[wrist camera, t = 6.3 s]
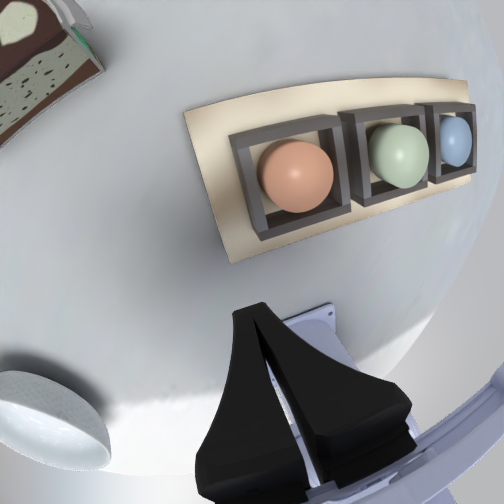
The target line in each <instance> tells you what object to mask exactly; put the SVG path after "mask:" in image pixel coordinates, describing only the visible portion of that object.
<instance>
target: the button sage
mask: <svg viewBox="0 0 504 504" xmlns="http://www.w3.org/2000/svg"><path fill="white" fill-rule="evenodd" d="M367 149H368V159H369V166H370V168H371V170H372V172H373V173H374V174H375V175H376V176H377V177H378V178H380V179H382V180H384V181H386V182H388V183H390V184H393V185H395V186H397V187H399V188H410V187H412V186H414V185H416V184H417V183H418V182H419V181H420V180H421V179H422V177H423V176H424V174H425V172H426V169H427V166H428V161H429V148H428V144H427V141H426V139H425V137H424V135H423V134H422V133H421V131H419V130H418V129H417V128H415V127H412V126H407V125H402V124H396V123H385V124H382V125H381V126H379V127H378V128H377V129H376V130H375V131H374V132H373V134H372V136H371V137H370V140H369V143H368V148H367Z"/></svg>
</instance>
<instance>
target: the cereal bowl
mask: <svg viewBox="0 0 504 504" xmlns="http://www.w3.org/2000/svg"><path fill="white" fill-rule="evenodd" d="M0 441H1V442H2V443H3V444H5V445H6V446H8V447H9V448H11V449H13V450H15V451H16V452H18V453H20V454H22V455H24V456H26V457H28V458H30V459H33V460H36V461H38V462H41V463H43V464H46V465H50V466H53V467H58V468H62V469H68V470H77V471H90V470H97V469H100V468H103V467H105V466H106V465H108V464H109V462H110V460H111V445H110V439H109V433H108V430H107V428H106V426H105V423H104V422H103V420H102V419H101V417H100V415H99V414H98V413H97V411H96V410H95V409H94V408H93V407H92V406H91V405H90V404H89V403H88V402H86V401H85V400H84V399H83V398H81V397H80V396H79V395H77V394H76V393H75V392H73V391H71V390H70V389H68V388H66V387H64V386H63V385H61V384H59V383H56V382H55V381H52V380H50V379H48V378H44V377H42V376H39V375H36V374H32V373H28V372H23V371H5V372H0Z"/></svg>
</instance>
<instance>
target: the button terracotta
mask: <svg viewBox="0 0 504 504" xmlns="http://www.w3.org/2000/svg"><path fill="white" fill-rule="evenodd" d="M257 177H258V182H259V185H260V187H261V189H262V190H263V192H264V193H265V194H266V195H267V196H268V197H269V198H270V199H271V200H272V201H273V202H274V203H275V204H276V205H277V206H278V207H280V208H282V209H283V210H286V211H289V212H294V213H300V212H306V211H309V210H311V209H313V208H315V207H316V206H318V205H319V204H320V203H321V202H322V201H323V200H324V199H325V198H326V196H327V195H328V193H329V191H330V189H331V186H332V183H333V167H332V163H331V161H330V159H329V157H328V156H327V154H326V153H325V152H324V151H323V150H322V149H321V148H319V147H318V146H316V145H314V144H311V143H307V142H304V141H301V140H297V139H283V140H280V141H277V142H275V143H274V144H272V145H271V146H270V147H268V148H267V149H266V150H265V152H264V153H263V155H262V156H261V158H260V161H259V164H258V169H257Z"/></svg>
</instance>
